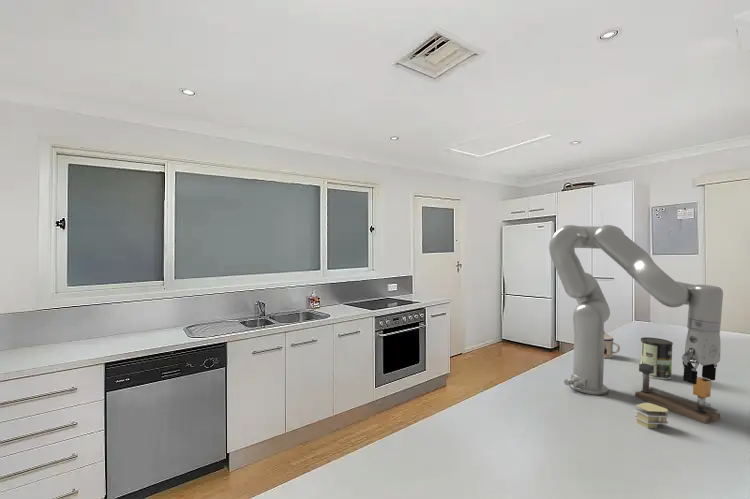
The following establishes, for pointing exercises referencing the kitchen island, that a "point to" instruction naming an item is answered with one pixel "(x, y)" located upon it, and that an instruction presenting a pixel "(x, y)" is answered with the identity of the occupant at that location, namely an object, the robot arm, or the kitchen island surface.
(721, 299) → the robot arm
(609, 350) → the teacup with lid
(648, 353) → the coffee can
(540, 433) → the kitchen island surface
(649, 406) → the stacked layers on plate
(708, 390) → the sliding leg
